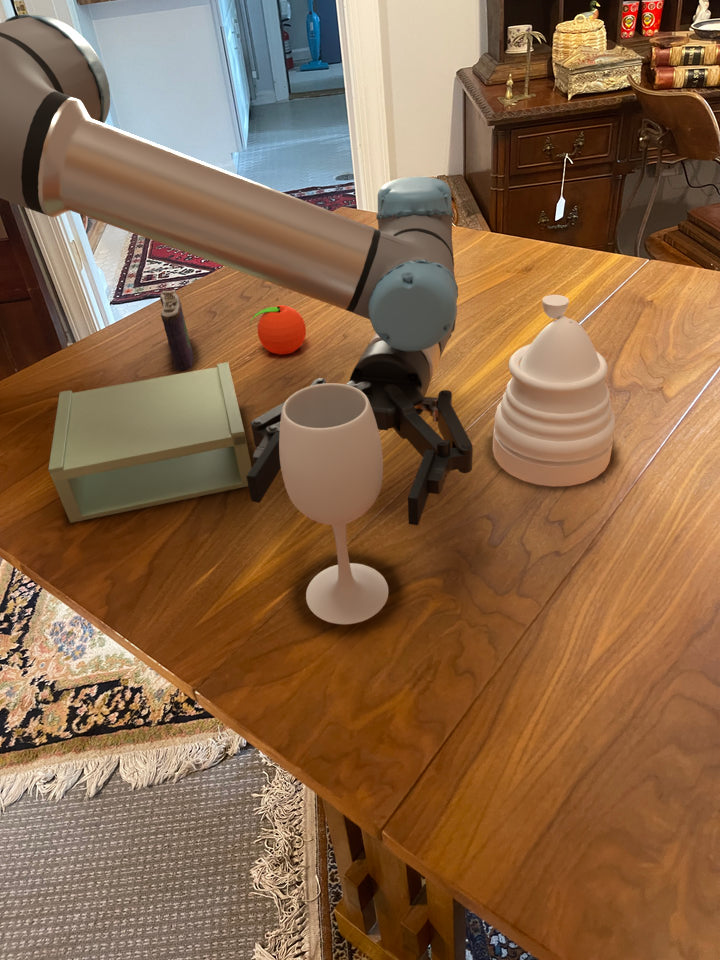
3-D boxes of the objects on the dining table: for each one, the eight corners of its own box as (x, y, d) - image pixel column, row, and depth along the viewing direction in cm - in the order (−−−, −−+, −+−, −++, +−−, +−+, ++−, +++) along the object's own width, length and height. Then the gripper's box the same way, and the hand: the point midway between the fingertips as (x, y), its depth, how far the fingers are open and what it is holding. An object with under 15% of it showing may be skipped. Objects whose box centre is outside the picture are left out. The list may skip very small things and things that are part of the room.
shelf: (71, 527, 79) (47, 469, 74) (79, 445, 91) (59, 392, 86) (255, 489, 82) (244, 431, 77) (239, 415, 94) (228, 361, 89)
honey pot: (472, 440, 86) (477, 297, 75) (566, 413, 89) (584, 271, 78) (530, 504, 77) (546, 349, 66) (633, 471, 80) (665, 318, 69)
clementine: (252, 365, 104) (243, 320, 100) (255, 343, 110) (248, 298, 105) (308, 361, 104) (302, 315, 100) (309, 339, 110) (303, 294, 105)
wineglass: (413, 594, 68) (407, 400, 55) (345, 649, 63) (320, 452, 50) (349, 551, 73) (329, 364, 60) (281, 599, 68) (244, 409, 55)
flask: (172, 347, 111) (156, 279, 104) (192, 344, 111) (177, 276, 104) (175, 376, 103) (157, 305, 97) (196, 373, 104) (180, 302, 97)
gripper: (517, 413, 74) (483, 557, 58) (286, 390, 80) (200, 514, 65) (522, 346, 69) (487, 483, 53) (277, 328, 76) (182, 445, 60)
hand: (330, 500), depth 59 cm, fingers open, 13 cm apart
